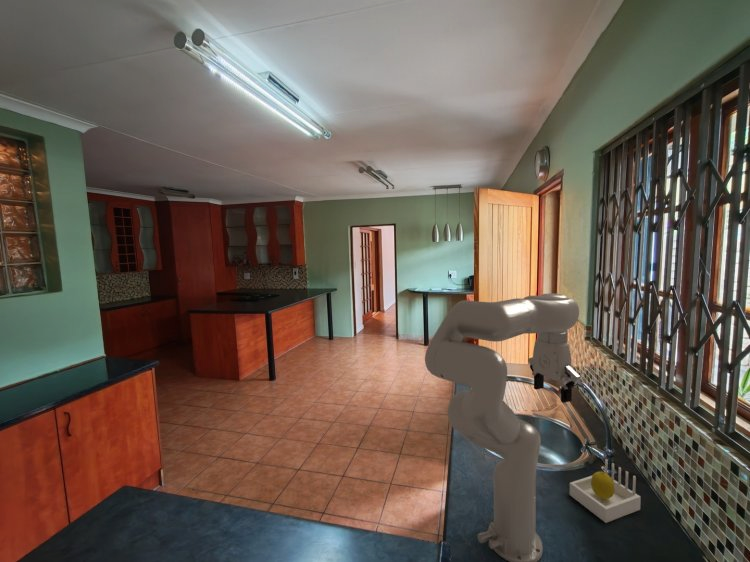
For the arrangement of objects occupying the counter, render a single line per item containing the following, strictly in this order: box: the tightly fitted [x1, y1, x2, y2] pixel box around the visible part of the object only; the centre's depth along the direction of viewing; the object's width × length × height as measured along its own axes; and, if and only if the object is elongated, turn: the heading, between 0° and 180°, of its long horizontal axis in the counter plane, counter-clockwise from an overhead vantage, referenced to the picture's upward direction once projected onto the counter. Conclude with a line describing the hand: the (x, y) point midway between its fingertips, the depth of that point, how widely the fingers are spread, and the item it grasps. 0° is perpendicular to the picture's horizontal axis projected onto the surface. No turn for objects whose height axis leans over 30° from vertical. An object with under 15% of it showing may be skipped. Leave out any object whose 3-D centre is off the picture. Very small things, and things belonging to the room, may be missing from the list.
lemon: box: [591, 471, 615, 499], centre depth 95 cm, size 6×6×8 cm
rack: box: [569, 458, 642, 524], centre depth 95 cm, size 13×11×9 cm
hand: (551, 394), depth 97 cm, fingers open, 9 cm apart
